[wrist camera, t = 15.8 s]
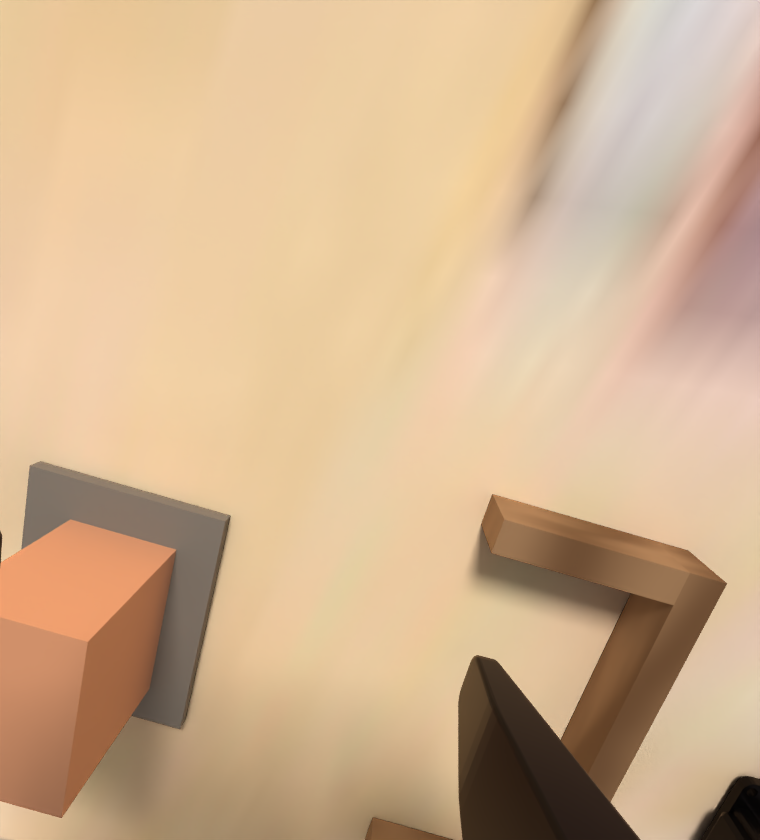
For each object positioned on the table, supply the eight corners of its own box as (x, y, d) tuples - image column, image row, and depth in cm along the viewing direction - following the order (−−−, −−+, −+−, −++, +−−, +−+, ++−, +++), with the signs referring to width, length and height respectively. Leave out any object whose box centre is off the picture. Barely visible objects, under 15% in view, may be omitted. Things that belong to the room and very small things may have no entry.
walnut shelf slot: (688, 550, 20) (726, 583, 18) (523, 881, 25) (535, 942, 23) (492, 494, 20) (504, 519, 18) (365, 837, 25) (360, 893, 23)
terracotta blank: (149, 688, 23) (61, 818, 17) (52, 661, 23) (-70, 781, 17) (176, 549, 21) (87, 641, 15) (70, 519, 21) (-60, 600, 15)
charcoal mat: (230, 515, 21) (225, 521, 20) (185, 718, 24) (180, 729, 23) (40, 461, 21) (29, 465, 20) (18, 672, 24) (8, 680, 23)
